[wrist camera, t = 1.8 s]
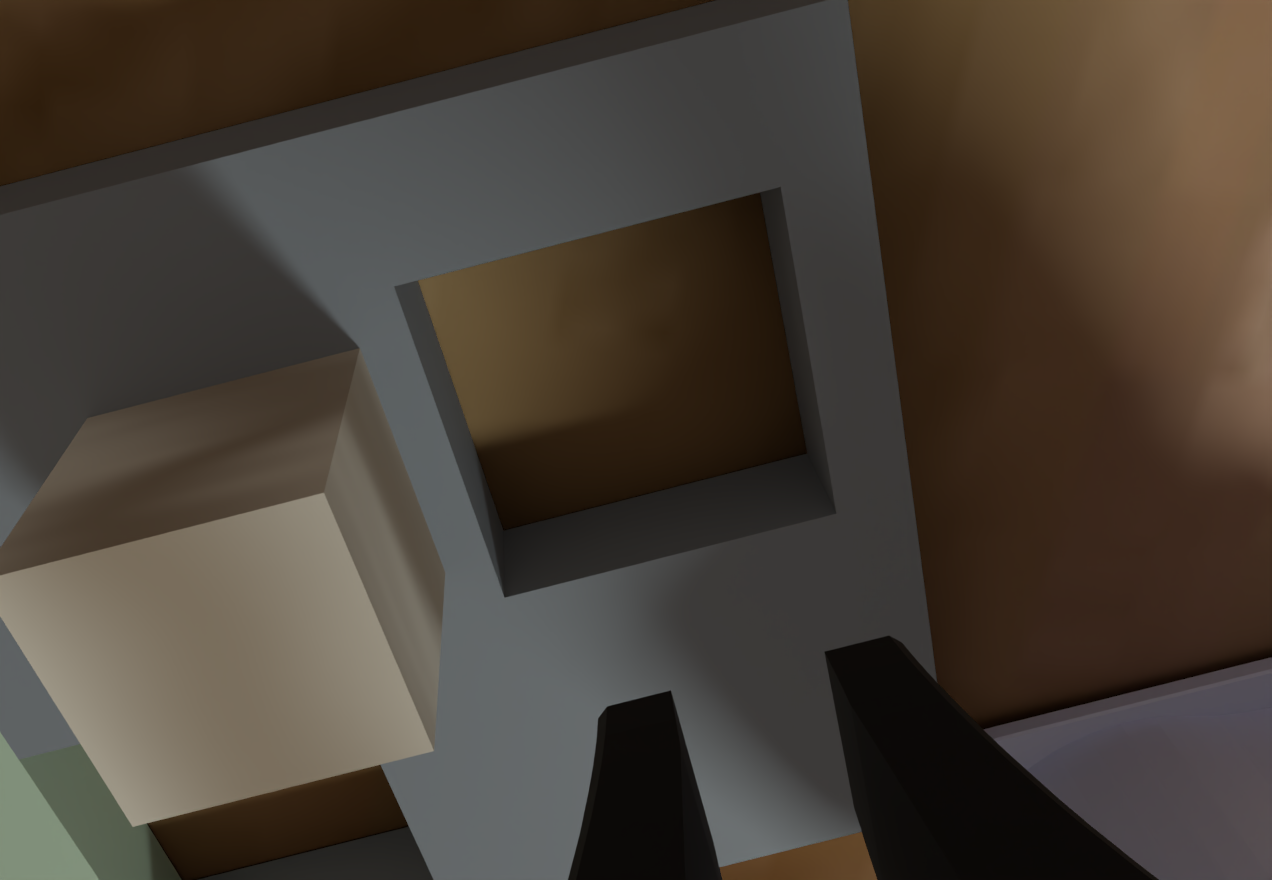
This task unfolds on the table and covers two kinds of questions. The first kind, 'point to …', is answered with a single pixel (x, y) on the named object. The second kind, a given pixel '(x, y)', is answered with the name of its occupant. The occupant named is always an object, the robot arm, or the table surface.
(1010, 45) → the table surface
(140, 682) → the block
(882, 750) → the robot arm
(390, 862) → the board
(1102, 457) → the table surface
